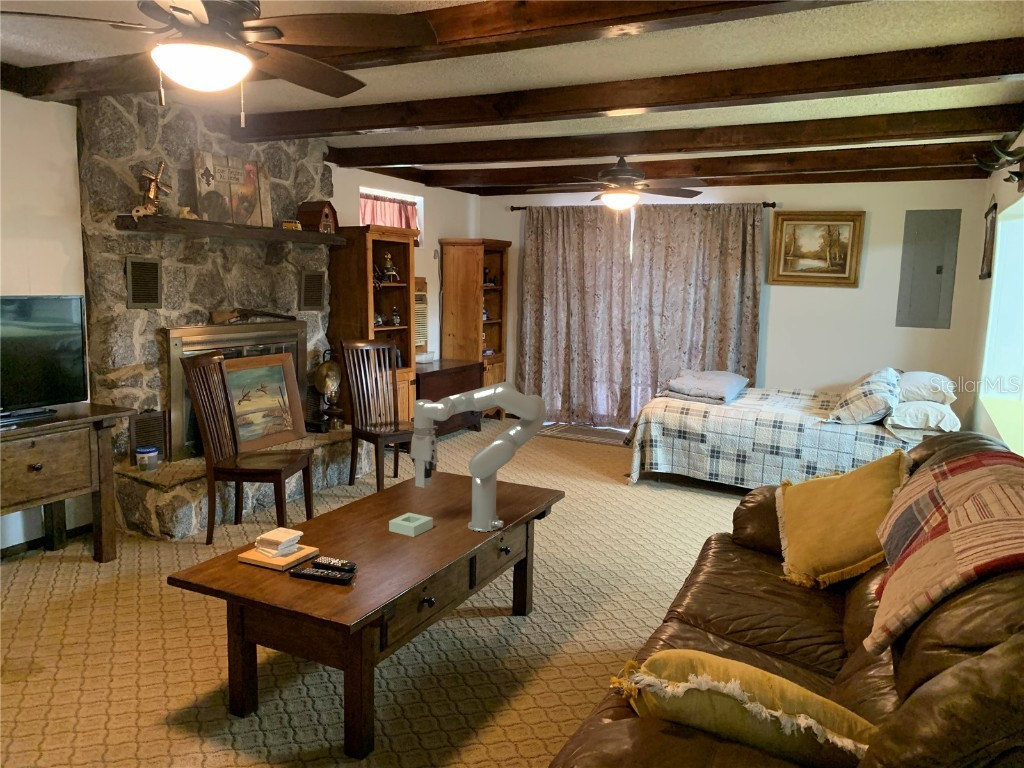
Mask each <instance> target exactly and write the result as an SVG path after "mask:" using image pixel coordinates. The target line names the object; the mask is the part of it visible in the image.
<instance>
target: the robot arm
mask: <svg viewBox="0 0 1024 768" xmlns="http://www.w3.org/2000/svg"><path fill="white" fill-rule="evenodd" d="M496 407H499V408H502V409H503V410H505V411H507V412H509V413H511V414H512V415H515V416H516V417H519V419H518V420H517V421H516V422H515V423H513V425H511V426H510V427H508V428H507V429H506V430H504V431H503V432H501V433H500V434H498V435H497V436H495V438H494V440H493V441H492V442H491V443H490V444H489V445H487V446H486V447H481V448H479V449H477V450H476V451H475V452H474V454H473V455H472V456H471V458H470V460H469V463H468V470H469V474H471V476H472V477H471V478H472V479H471V521H469V522H468V523H467V528H468V529H469V530H471V531H473V530H474V532H478V531H480V533H488V532H487V531H490V532H494V531H493V530H495V531H496V530H498V529H500V528H501V529H502V528H503V527H504V524H505V523H504V520H500V519H499V515H497V477H498V476H497V475H498V471H499V470H500V469H501V468H503V467H504V466H505V465H506V464H508V463H509V462H510V461H512V459H513V458H514V457H515V455H516V453H517V452H518V450H519V449H520V448H522V447H523V446H524V445H525V444H526V443H528V441H529V442H530V440H531V439H532V438H534V437H535V436H536V435H537V434H538V433H539V432H540V430H541V429H542V427H543V425H544V423H545V420H546V415H547V409H546V404H545V400H544V399H543V397H541V396H540V395H539V394H530V395H526V394H524V393H521V392H519V391H518V390H517V386H516V385H515V384H514V383H512V382H510V381H503V382H499V383H495V384H491V385H487V386H483V387H480V388H476V389H474V390H469V391H465V392H461V393H458V394H454V395H450V396H446V397H443V398H441V399H439V400H438V401H436V402H435V401H434V402H433V401H432V400H431V399H417V400H415V401H414V403H413V434H412V437H411V441H410V442H411V444H410V453H409V454H408V458H409V459H410V460H411V462H412V463H413V466H414V467H415V459H420V460H425V461H426V469H425V478H430V477H431V478H432V476H433V472H432V471H433V469H432V468H433V467H434V466H435V465H436V464H437V463H439V459H438V446H437V438H436V435H435V434H436V430H435V429H434V421H438V422H444V421H447V420H448V419H449V418H450V417H451V416H453V415H456V414H459V413H460V414H461V413H463V412H470V411H473V412H482V411H486V410H489V409H493V408H496ZM429 463H430V464H429Z"/></svg>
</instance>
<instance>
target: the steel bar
mask: <svg viewBox="0 0 1024 768" xmlns="http://www.w3.org/2000/svg"><path fill="white" fill-rule="evenodd" d="M429 464H430V463H429ZM425 469H426V461H425V460H420V459H415V466H414V477H415V478H414V479H415V480H414V481H415V485H414V486H415V487H418V488H424V489H425V488H429V487H431V486H432V476H431V477H430V478H425Z"/></svg>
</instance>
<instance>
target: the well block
mask: <svg viewBox="0 0 1024 768" xmlns="http://www.w3.org/2000/svg"><path fill="white" fill-rule="evenodd" d="M388 525H389V526H388V527H389V528H388V530H389V532H392V533H396V534H401V535H405V536H409V537H413V538H414V537H416V536H419V535H421V534H424V533H425V532H427V531H429V530H431V529H433V528H434V517H431V516H426V515H422V514H417V513H412V512H407V513H404V514H402V515H400V516H397V517H395V518H393V519H391V520H389V521H388Z"/></svg>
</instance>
